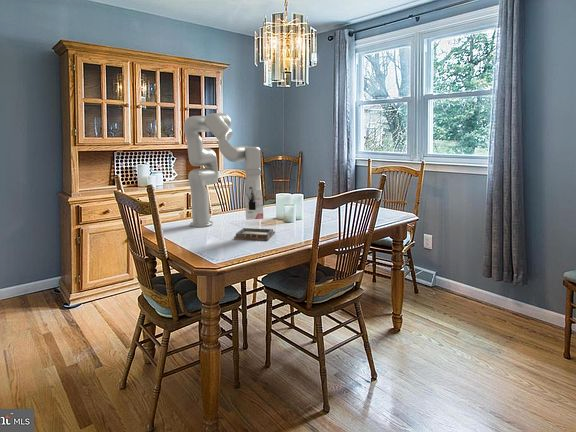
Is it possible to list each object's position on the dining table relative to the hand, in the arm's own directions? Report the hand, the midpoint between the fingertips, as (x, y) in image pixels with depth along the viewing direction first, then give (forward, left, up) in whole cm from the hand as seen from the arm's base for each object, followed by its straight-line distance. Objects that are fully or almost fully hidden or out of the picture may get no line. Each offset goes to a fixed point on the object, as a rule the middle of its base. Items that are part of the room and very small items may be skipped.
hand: (254, 208), depth 212 cm
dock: (0, 0, -14) cm, 14 cm away
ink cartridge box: (0, 0, -5) cm, 5 cm away
